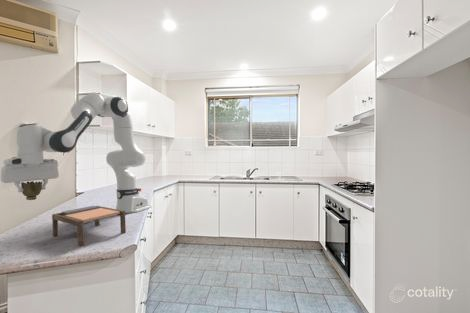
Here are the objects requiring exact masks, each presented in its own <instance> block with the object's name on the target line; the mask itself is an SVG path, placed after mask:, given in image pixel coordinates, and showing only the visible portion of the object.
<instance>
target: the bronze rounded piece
mask: <svg viewBox="0 0 470 313" xmlns="http://www.w3.org/2000/svg"><path fill="white" fill-rule="evenodd" d="M42 185H43V181H41V180H38V181H35V182H34V180H33V181H26V182H25V181H23V182H20V187H21V188H23V192H21V193H22V195H23V196H25V197H26V198H25V199H26V200H27V201H34V200H37V196H39V195H40V194H41V191H42V190H41V188H42Z"/></svg>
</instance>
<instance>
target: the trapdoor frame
mask: <svg viewBox="0 0 470 313" xmlns="http://www.w3.org/2000/svg"><path fill="white" fill-rule="evenodd" d="M96 206H97V207H99V208H103V209H109V210H114V211H119V212H120V214H117V216H119V217H120V218H119V219H120V234H125V233H127V231H126V213H125V211H123V210H117V209H116V208H111V207H106V206H100V205H96ZM51 220H52V222H51V223H52V237H53V238H56V237H59V222H61V223H65V224H70V225H72V226H75V227H76V228H77V229H76V230H77V231H76V232H77V236H76V237H77V247H83V246H84V245H85V244H84V243H85V242H84V241H85V239H84V224H83V221H82V220H78V219H74V218H70V217H67V216H63V215H62V212H57V213H53V214H51ZM94 226H95V227H99V226H100V219H96V220H94Z"/></svg>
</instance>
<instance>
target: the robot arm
mask: <svg viewBox="0 0 470 313" xmlns="http://www.w3.org/2000/svg"><path fill="white" fill-rule="evenodd" d="M70 114H71V116H72V118H73V119H74V120H73V121H71V123H70V124H69V125H68V126H67V128H64V129H62V130H58V131H52V130H49V129H47V128H45V127H44V126H42V125H41V124H40V123H38V122H37V123H26V124H25V123H24V124H20V125H19V126H18V128H17V131H16V132H17V133H16V144H17V148H18V150H17V156H14V157H13V156H12V157H10V158H6V159H4V160H3V161H2V162H3V163H2V164H3V166H2V167H1V170H0V182H2V183H3V184H9V183H10V184H11V183H14V185H15V187H16V188H17V189H18V190H17V192H18V193H22V192H23V188H22V187H21V182H22V183H23V182H32V181H33V182H34V181H42V188H41V191H43V190H46V188H47V187H46V185H47V184H48V183H49V180H52V179H58V178H59V176H60V175H59V168H58V167H59V162H58V160H56V159H54V158H50V159H49V158H48V159H47V158H46V159H45V158H44V152H46V153H65V154H66V153H69V152H71V151H73V150H74V149H75V147H76V145H77V143H78V141H79V139H80V137H81V135H82V134H83V133H84V132H85V131H86V129H87V128H88V127H89V125H90V124H91V123H92V121H93V119H95V118H96V117H100V118H111V119H112V121H113V122H112V123H113V124H112V125H113V126H112V127H113V136H114V141H115V143H117V144H119V145H120V147H121V149H115V150H112V151H109V152H108V153H107V154H106V163H107V164H108V166H110V167H111V169H112V170H113V172H114V174H115V178H116V187H117V188H116V206H115V209H117V210H123V211H125V214H128V213H133V214H134V213H138V212H141V211H145V210H148V209H152V208H153V207H152V205H150V204H149V202H148V199H147V198H146V197H145V196H143V195H142V194H141V193H139V192H142V190H143V189H142V188H140V187H139V188H137V179H136V175H135V174H134V173H132V172H131V170H130V168H137V167H140V166H144V164H145V162H146V154H145V153H144V151H142V150H141V149H140V148H139V147H138V145H137V142H136V141H135V137H134V136H135V135H134V127H133V121H132V116H131V114H130V112H129V104H128V103H127V101H126V99H124V97H119V96H114V97H106V98H105V97H103V96H102V95H101V94H100V93H99V92H98V93H97V92H90V93H88V94H86V95H85V96H83V97H81V98H80V99H79V100H78V101H77V102H75V103H74V104H73V106H71V109H70Z"/></svg>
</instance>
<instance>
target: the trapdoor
mask: <svg viewBox="0 0 470 313" xmlns="http://www.w3.org/2000/svg"><path fill="white" fill-rule="evenodd" d="M97 206H98V205H91V206H86V207H85V206H84V207H81V208H75V209H69V210H65V211H61V213H62V215H63V216H67V217H70V218H74V219H78V220H82V221H83V222H87V221H90V222H91V221H95V220H96V219H99V220H100V219H104V218H108V217H112V216H116V215H117V214H120V212H119V211H114V210H109V209H103V208H99V207H97ZM117 216H118V215H117Z"/></svg>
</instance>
